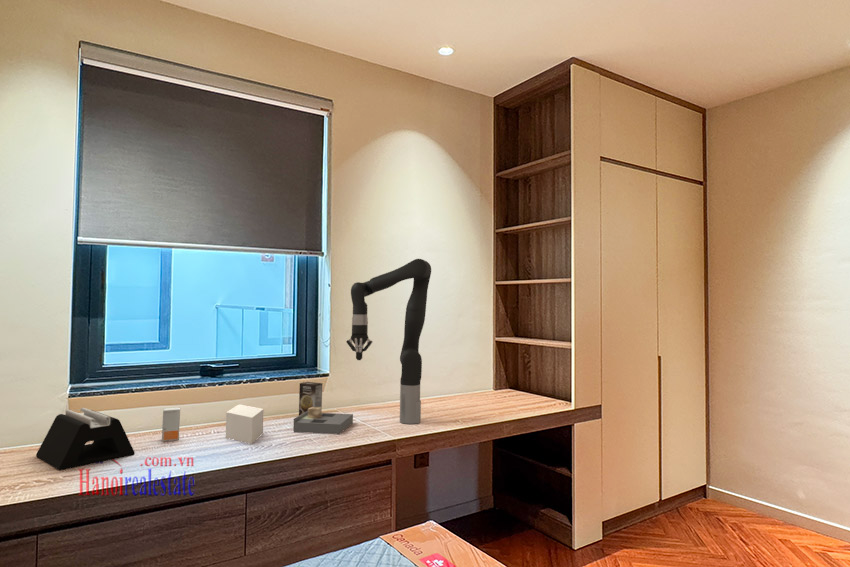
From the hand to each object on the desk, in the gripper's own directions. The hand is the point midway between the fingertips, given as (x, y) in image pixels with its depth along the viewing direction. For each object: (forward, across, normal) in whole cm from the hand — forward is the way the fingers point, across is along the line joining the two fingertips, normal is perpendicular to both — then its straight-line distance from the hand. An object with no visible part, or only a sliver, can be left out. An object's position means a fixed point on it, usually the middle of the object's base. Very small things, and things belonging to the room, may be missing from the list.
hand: (359, 360), depth 244 cm
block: (+23, -14, -22) cm, 35 cm away
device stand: (+28, -76, -77) cm, 112 cm away
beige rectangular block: (+27, -36, -42) cm, 62 cm away
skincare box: (+27, -61, -53) cm, 85 cm away
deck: (+27, -9, -23) cm, 37 cm away
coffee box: (+27, -22, -5) cm, 35 cm away
